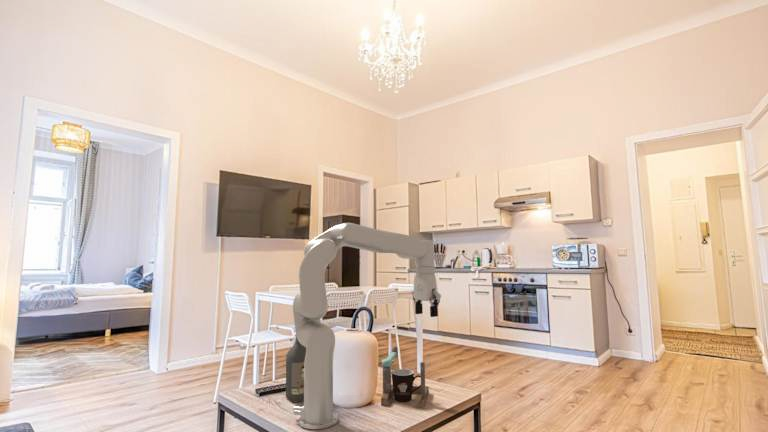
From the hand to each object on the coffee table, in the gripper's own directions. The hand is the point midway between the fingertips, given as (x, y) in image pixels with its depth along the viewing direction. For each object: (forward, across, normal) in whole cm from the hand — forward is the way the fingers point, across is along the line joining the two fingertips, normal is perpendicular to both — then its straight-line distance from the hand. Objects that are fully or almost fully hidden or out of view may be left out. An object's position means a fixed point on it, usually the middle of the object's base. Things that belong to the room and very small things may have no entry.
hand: (426, 315), depth 154 cm
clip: (+19, -12, -9) cm, 24 cm away
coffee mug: (+31, -2, -9) cm, 32 cm away
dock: (+31, -2, -8) cm, 32 cm away
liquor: (+31, -27, -42) cm, 58 cm away
